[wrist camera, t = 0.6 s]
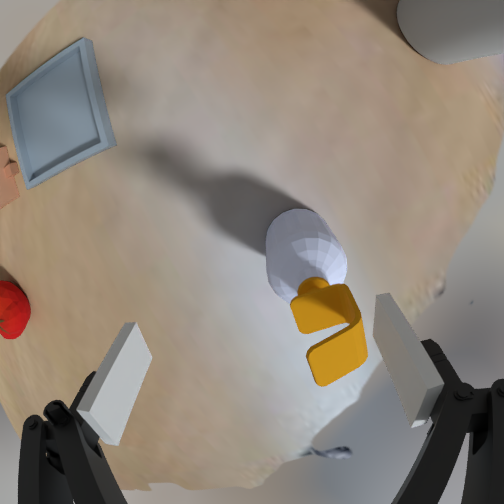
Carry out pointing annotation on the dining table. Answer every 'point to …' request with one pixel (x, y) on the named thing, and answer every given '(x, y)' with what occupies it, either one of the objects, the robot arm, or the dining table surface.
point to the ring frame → (7, 179)
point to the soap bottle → (316, 290)
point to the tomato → (13, 310)
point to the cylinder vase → (453, 28)
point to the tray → (59, 114)
